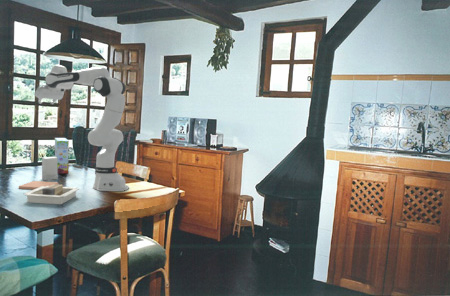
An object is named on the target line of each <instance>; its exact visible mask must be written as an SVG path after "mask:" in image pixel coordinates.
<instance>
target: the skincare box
mask: <svg viewBox="0 0 450 296" xmlns="http://www.w3.org/2000/svg"><path fill="white" fill-rule="evenodd" d="M57 163H58V158H57V157H55V156H46V157H45V156H44V157H41V179H42V180H43V181H44V182H47V181H53V180H58V174H57Z"/></svg>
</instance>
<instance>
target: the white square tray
mask: <svg viewBox="0 0 450 296" xmlns="http://www.w3.org/2000/svg"><path fill="white" fill-rule="evenodd" d="M46 187H48V186H45V187H44V186H41V187H39V188H36V189H34V190H31V189H30V191H26V192H24V193H23V195H25V196H26V197H27V199H26V201H27V202H26V203H31V204H32V203H35V204H48V205H49V204H50V205H63V204H65V203H66V202H68V201H69V200H71V199H73V198H75V197H77V196H76V195H77V191H79V190H80V188H78V187H74V186H73V187H71V186H70V187H69V186H63V195H61V196H59V195H43V194H42V189H43V188H46Z"/></svg>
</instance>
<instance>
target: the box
mask: <svg viewBox="0 0 450 296" xmlns="http://www.w3.org/2000/svg"><path fill="white" fill-rule="evenodd" d="M63 187H64V185H63V184H53V185H51V186H48V187H46V188H43V189H42V194H43V195H59V196H61V195H63Z"/></svg>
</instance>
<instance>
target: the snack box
mask: <svg viewBox="0 0 450 296" xmlns="http://www.w3.org/2000/svg"><path fill="white" fill-rule="evenodd" d="M69 143H70V142H69V140H68V139H67V138H66V137H54V157H57V158H58V163H57V175H58V174H69Z"/></svg>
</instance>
